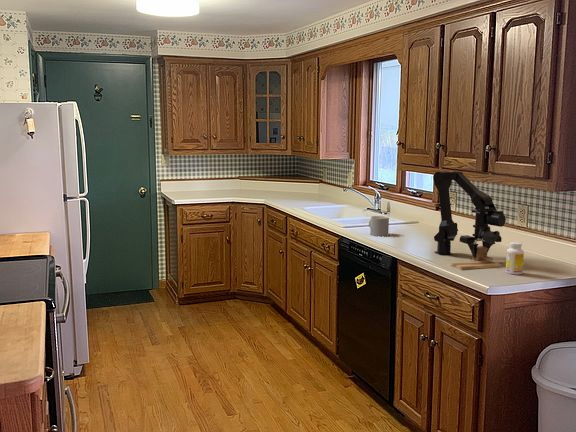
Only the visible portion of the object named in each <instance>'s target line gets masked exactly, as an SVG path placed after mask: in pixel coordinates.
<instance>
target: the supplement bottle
mask: <svg viewBox="0 0 576 432" xmlns="http://www.w3.org/2000/svg"><path fill="white" fill-rule="evenodd" d="M522 247H523V243H521V242H517V241H511V242H509V248H507V250H506V259H505V273H506V274H509V275H515V276H516V275H517V276H518V275H522V274H523V272H524V271H523V269H524V256H525V255H524V253H525V250H524V249H522Z"/></svg>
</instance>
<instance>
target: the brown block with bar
mask: <svg viewBox="0 0 576 432" xmlns="http://www.w3.org/2000/svg"><path fill="white" fill-rule="evenodd" d="M487 250H488V248H486V247H483V245H480V246H479V245H478V246H477V249H476V258H473V255H472V254H471V261H483V260H488V261H493V262H494V258H493V257H490V256H488V253H487Z"/></svg>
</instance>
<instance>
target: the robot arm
mask: <svg viewBox="0 0 576 432" xmlns="http://www.w3.org/2000/svg"><path fill="white" fill-rule="evenodd" d="M432 178H433V180H432V181H433V183H434V186H435V188H436V189H437V191H438V199H439V208H440V211H439V212H440V219H441V221H440V223H439V226H438V232H437V233H436V234H435V235H433V240H434V241H435V242H437V246H436V248H437V249H436V250H435V251H434V253H435V254H437V255H441V256H448V255H453V254H454V253H453V252H451V248H452V245H451V243H452V242H454V241H455V238H456V237H457V235H458V232H459V229H458V222H454V220H453V215H452V206H451V204H452V203H451V194H450V189H451V188H450V187H451V186H452V181H454V182H455V183H456V184H457V185H458V186H459V187H460V188H461V189H462V190H463V191H464V192H465V193H466V194H467V195H468V196H469V198H470V201H471V203H472V205H473V206H474V207H475V208H473V210H471V213H475V218H474V219H475V220H474V224H472V228H474V232H473V233H472V236H471V235H461V236H460V237H459V241H458V242H460V243H463V244H467V246H468V248H469V250H470V253H471V256H472V255H473V258H476V249H477V246H479V244H478V243H477V242H482V243H481V244H482V245H481V246H483V247H486V248H488V250H487V254H488V253H489V251H490V249H491V247H492V246H493V245H496V243H501V242H502V240H503V239H502V236H501V235H500V231H499V230H494V231H492V230H491V226H494V227H495V226H496V227H499V228H500V227H501V228H502V227H504V226H505V225H506V221H507V217H506V215H505V214H504V211H503V210H498V209H497V208H496V206H495V204H494V202H493V198H492V196H490V195H489V194H487V193H486V192H484V191H482V190H480V189H479V188H477V187H476V185H474V184H473V183H472V181H470V180H469V179H468V177H466V175H464V173H463V172H462V171H460V170H458V171H457V170H456V171H448V170H443V171H442V170H439V171H436V172H434V174H433V176H432Z"/></svg>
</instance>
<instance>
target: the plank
mask: <svg viewBox="0 0 576 432" xmlns="http://www.w3.org/2000/svg"><path fill="white" fill-rule="evenodd" d="M450 266H451V267H453V268H456V269H459V270H461V271H462V270H463V271H464V270H474V269H476V270H477V269H488V268H499V267H501V263H499V262H495V261H494V260H493V261H488V260H483V261H474V260H471V261H459V262H458V261H456V262H450Z"/></svg>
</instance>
